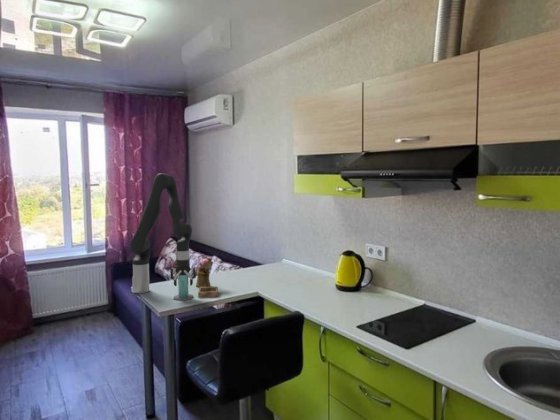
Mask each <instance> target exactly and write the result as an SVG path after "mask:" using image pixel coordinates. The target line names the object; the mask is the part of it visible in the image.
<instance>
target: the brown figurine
mask: <svg viewBox="0 0 560 420" xmlns="http://www.w3.org/2000/svg"><path fill="white" fill-rule="evenodd" d="M213 264H214V262H213V260H210V261H207V262H206V263H205V264H204V266H203V267H200V268H198V270H197V276H196V277H197V278H196V284H195V287H196V288H198V289H199V288H200V287H211V282H210V268H212V267H213Z"/></svg>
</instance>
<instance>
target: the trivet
mask: <svg viewBox="0 0 560 420" xmlns="http://www.w3.org/2000/svg"><path fill="white" fill-rule="evenodd" d="M192 299H194V295H193V294H190V293H188V297H187V298H179V294H176V295H174V296H173V300H175V301H181V302H182V301H189V300H190V301H191V300H192Z"/></svg>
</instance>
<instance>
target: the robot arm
mask: <svg viewBox="0 0 560 420" xmlns="http://www.w3.org/2000/svg"><path fill="white" fill-rule="evenodd" d="M164 190H165V191H166V192H167V195H168V197H169V198H168V199H169V201H168V211H169V214H170V217H171V220H172V221H171V222H172V232H173V234H174V236H175V237H181V238H180V239H178V240H176V252H175V261H176V263H175V264H176V267H175V268H173V267H171V268H170V273H169V274H170V280H173V285H174V286H175V287H177V285H178V281H177V280H178V276H179V275H187V276H188V279H189V286H190V287H192V285H193V284H194V283H193V281H194V279H197V278H196V277H197V274H196V267H191V266H190V265H191V264H190V262H191V259H190V255H191V254H190V253H191V252H190V240H191V237H192V233H193V228H192V226H191V224H189V223H187V222H186V223H181V222H182V221H183V220H184V219H185V215H184V212H183V209H182V207H181V202H180V199H179V194H178V189H177V184H176V180H175V177H174V175H172V174H168V173H163V172H162V173H161V172H160V173H157V174H156V175H155V177H154V179H153V182H152V186H151V190H150V194H149V197H148V200H147V202H146V205H145V208H144V210H143V213H142V215H141V219H140V221H139V223H138V227H137V229H136V231H135V233H134V235H133V237H132V238H131V241H130V244H129V249H130V251H131V253H133V254H135V255H134V258H133V259H132V277H131V281H132V282H131V283H132V287H131V290H132V293H134V294H145V293H148V292H149V291H150V257H151V243H150V240H149V238H148V235H149V234H150V232H151V231H152V229H153V228H154V227H155V226H156V225H157V224H156V223H157V222H158V220H159V218H160V215H161V212H162V206H161V196H162V194H163V191H164ZM190 271H191V272H192V273H190ZM175 272H176V274H175V276H174V273H175Z"/></svg>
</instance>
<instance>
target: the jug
mask: <svg viewBox="0 0 560 420" xmlns="http://www.w3.org/2000/svg"><path fill="white" fill-rule="evenodd" d="M177 280H178V281H177V285H178V287H177V288H178V289H177V290H178V295H179V298H187V297H188V294H189V277H188V276H187V275H179V276H178V277H177Z"/></svg>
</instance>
